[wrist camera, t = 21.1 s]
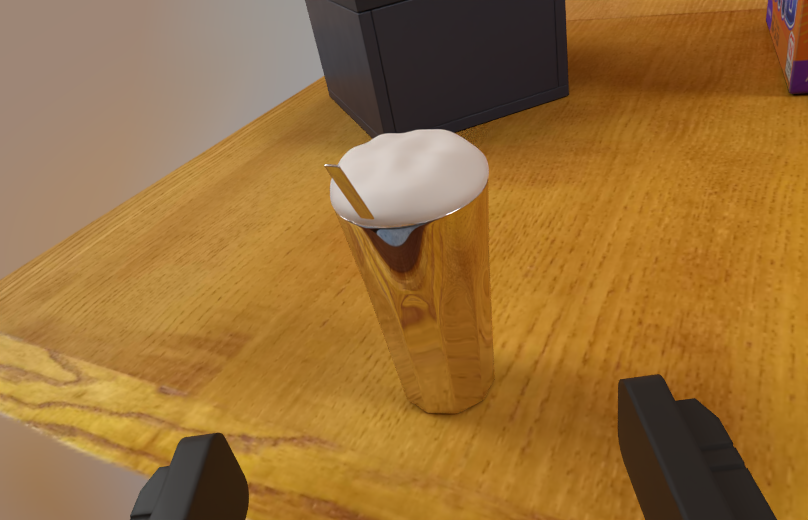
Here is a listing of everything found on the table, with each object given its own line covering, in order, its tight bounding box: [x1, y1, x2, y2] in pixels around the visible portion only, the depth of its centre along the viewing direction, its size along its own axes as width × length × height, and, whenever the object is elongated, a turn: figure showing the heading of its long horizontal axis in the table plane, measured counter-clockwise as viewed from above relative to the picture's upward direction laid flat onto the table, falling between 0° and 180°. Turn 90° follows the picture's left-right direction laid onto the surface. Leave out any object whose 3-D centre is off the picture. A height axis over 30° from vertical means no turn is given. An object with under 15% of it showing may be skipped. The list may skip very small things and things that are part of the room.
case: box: [305, 0, 569, 138], centre depth 45 cm, size 16×14×9 cm
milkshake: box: [324, 129, 495, 414], centre depth 19 cm, size 5×5×10 cm
